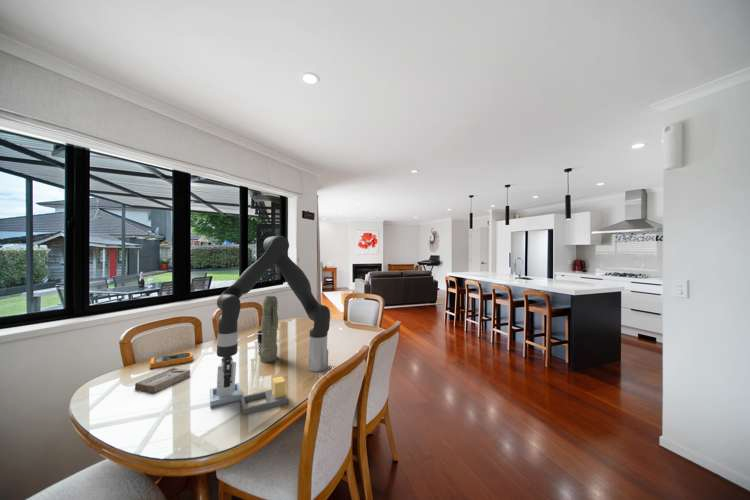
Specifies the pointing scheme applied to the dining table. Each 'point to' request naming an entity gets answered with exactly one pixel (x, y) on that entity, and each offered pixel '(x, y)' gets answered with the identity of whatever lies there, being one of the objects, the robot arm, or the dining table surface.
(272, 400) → the block
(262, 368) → the dining table surface
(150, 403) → the dining table surface
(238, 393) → the tray
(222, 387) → the skincare box
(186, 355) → the multimeter
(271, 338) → the thermos
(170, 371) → the box
